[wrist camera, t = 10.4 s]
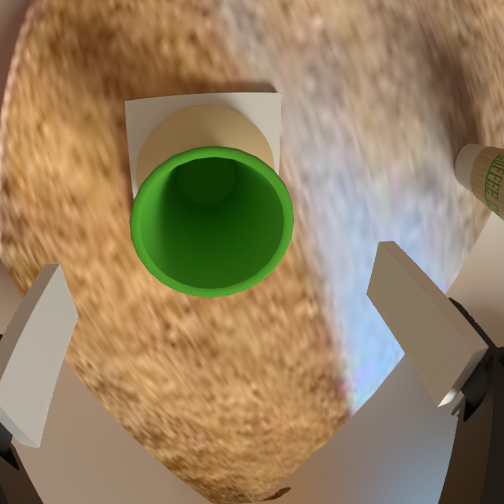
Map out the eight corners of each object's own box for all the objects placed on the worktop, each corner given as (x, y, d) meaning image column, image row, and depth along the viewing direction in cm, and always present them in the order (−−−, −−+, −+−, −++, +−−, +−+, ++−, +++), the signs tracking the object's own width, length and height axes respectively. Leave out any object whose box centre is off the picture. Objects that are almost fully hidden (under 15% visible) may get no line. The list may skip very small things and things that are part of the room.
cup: (200, 242, 29) (206, 322, 20) (131, 172, 25) (96, 226, 16) (278, 181, 28) (323, 237, 18) (213, 101, 23) (225, 109, 14)
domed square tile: (127, 100, 25) (118, 102, 22) (278, 92, 27) (288, 93, 24) (141, 236, 32) (136, 253, 29) (274, 226, 34) (282, 243, 31)
